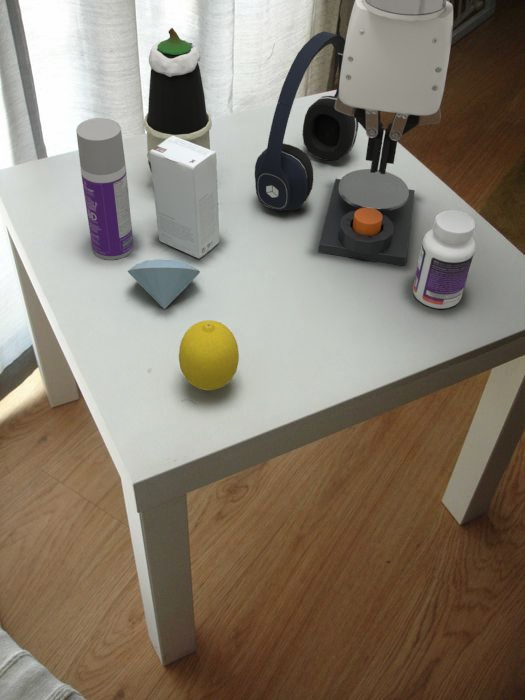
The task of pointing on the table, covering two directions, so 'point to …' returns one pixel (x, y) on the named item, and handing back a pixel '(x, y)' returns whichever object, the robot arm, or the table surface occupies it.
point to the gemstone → (163, 278)
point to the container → (105, 187)
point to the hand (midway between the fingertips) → (378, 166)
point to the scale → (377, 247)
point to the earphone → (318, 135)
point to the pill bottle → (445, 260)
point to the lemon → (208, 355)
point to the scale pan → (373, 190)
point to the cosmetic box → (185, 195)
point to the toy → (176, 95)
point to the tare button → (367, 221)
